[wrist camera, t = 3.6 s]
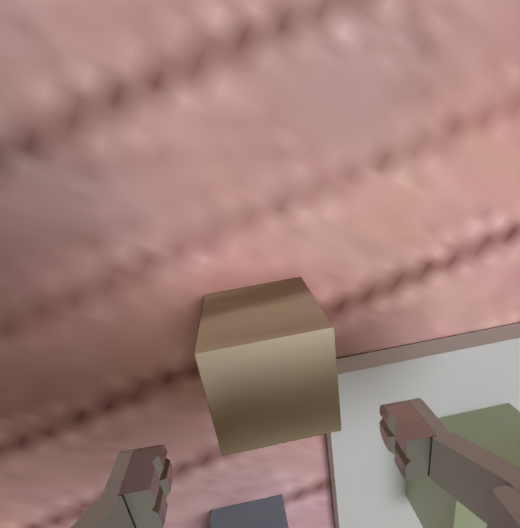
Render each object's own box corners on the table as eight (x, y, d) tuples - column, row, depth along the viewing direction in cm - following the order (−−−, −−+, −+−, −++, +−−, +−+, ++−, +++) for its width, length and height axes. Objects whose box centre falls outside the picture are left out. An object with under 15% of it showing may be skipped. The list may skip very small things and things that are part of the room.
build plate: (319, 362, 17) (356, 443, 12) (575, 311, 18) (709, 368, 13) (335, 532, 22) (366, 637, 17) (531, 487, 23) (613, 575, 18)
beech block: (204, 294, 15) (194, 354, 10) (300, 276, 15) (334, 327, 10) (223, 372, 16) (222, 455, 12) (309, 355, 17) (341, 430, 12)
